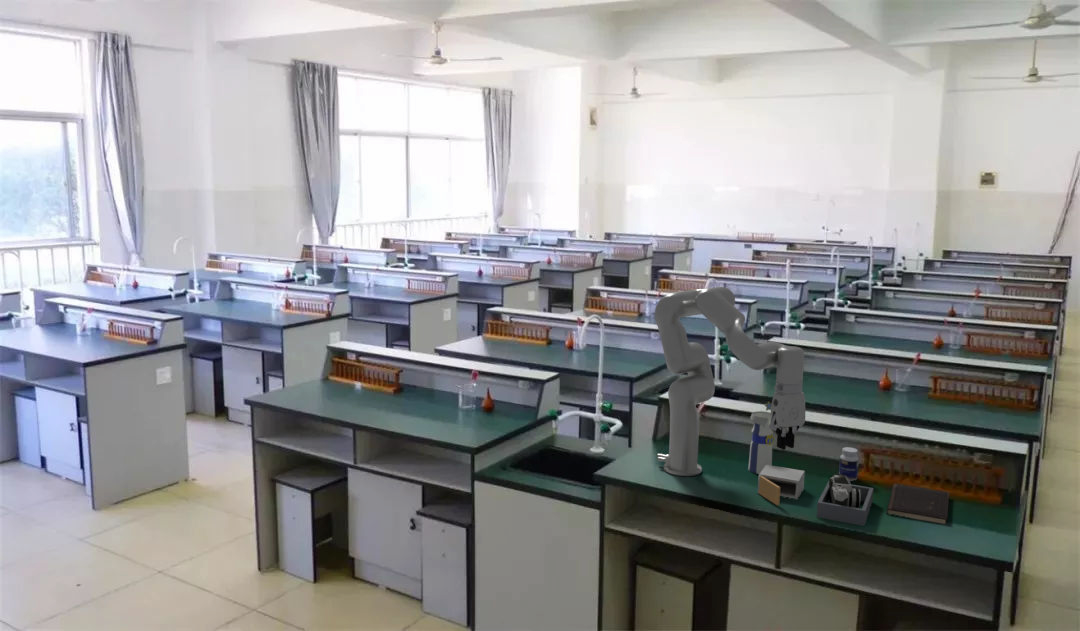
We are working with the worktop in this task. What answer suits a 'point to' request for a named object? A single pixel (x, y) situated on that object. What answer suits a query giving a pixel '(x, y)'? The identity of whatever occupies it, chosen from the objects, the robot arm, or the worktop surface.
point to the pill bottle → (849, 463)
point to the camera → (843, 492)
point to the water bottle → (761, 441)
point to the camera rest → (845, 507)
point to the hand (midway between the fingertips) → (785, 447)
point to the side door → (768, 490)
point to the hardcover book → (919, 503)
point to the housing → (785, 480)
